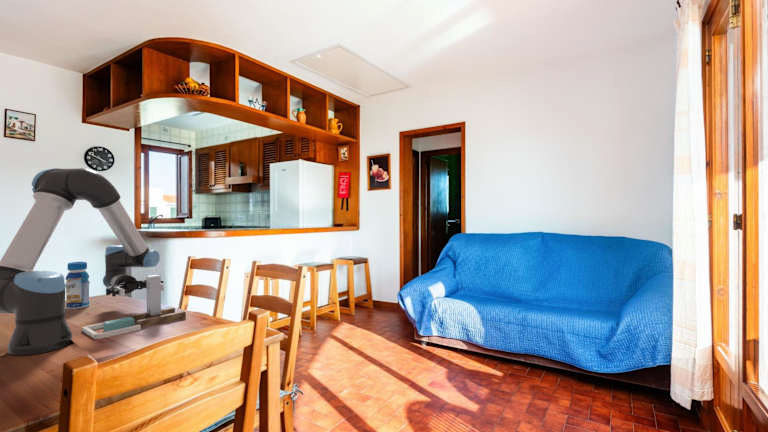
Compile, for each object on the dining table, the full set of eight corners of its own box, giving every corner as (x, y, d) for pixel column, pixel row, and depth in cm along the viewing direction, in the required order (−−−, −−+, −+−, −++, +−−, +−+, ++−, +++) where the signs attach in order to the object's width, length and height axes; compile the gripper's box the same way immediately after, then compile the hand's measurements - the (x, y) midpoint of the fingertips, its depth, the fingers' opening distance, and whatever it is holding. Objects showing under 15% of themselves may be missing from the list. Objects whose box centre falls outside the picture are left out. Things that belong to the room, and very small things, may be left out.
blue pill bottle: (93, 306, 170) (92, 262, 170) (70, 310, 163) (69, 264, 163) (85, 304, 174) (84, 260, 174) (62, 308, 167) (61, 262, 167)
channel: (139, 332, 132) (138, 321, 132) (127, 327, 139) (126, 316, 139) (185, 322, 145) (185, 311, 145) (172, 317, 152) (172, 307, 152)
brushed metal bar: (152, 323, 138) (151, 277, 138) (145, 321, 142) (145, 275, 141) (162, 321, 141) (161, 276, 141) (155, 318, 144) (155, 274, 144)
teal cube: (107, 335, 128) (107, 324, 128) (103, 333, 130) (103, 322, 130) (121, 332, 131) (121, 321, 131) (117, 330, 133) (117, 319, 133)
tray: (95, 344, 121) (95, 334, 121) (81, 335, 130) (81, 327, 129) (140, 333, 131) (140, 325, 131) (125, 326, 140) (125, 318, 140)
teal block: (121, 332, 131) (121, 321, 131) (117, 330, 133) (117, 319, 133) (134, 329, 134) (134, 318, 134) (130, 327, 137) (129, 316, 136)
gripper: (156, 287, 170) (177, 294, 157) (88, 298, 150) (105, 306, 137) (156, 271, 170) (177, 276, 157) (87, 279, 150) (105, 285, 137)
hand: (143, 290), depth 147 cm, fingers open, 13 cm apart
